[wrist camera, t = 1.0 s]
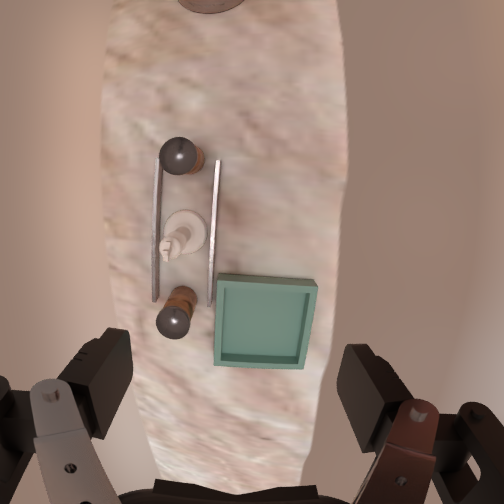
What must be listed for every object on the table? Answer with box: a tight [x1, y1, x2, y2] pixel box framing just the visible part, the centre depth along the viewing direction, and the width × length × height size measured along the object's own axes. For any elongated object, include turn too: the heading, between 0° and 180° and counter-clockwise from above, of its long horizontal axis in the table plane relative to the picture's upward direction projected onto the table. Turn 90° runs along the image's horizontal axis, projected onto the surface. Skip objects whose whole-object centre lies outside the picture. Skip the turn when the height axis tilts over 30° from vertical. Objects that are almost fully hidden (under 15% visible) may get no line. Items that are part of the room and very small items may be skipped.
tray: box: [214, 273, 318, 369], centre depth 36 cm, size 11×11×2 cm
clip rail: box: [152, 137, 221, 339], centre depth 31 cm, size 19×7×7 cm, turn 175°
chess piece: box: [159, 210, 207, 262], centre depth 30 cm, size 5×5×10 cm
